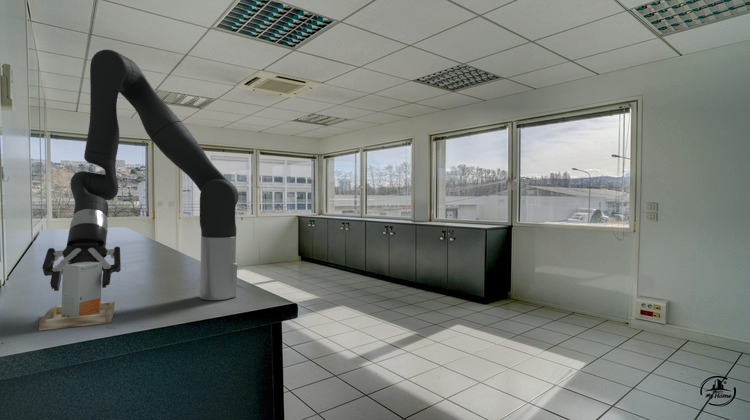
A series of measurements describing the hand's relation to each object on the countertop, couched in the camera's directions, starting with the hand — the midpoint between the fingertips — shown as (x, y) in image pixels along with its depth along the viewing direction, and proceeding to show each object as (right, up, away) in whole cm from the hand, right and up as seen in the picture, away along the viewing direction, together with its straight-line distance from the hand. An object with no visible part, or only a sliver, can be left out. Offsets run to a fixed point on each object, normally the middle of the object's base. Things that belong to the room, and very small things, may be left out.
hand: (80, 287), depth 85 cm
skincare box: (-1, -7, +1) cm, 7 cm away
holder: (-1, -7, +1) cm, 7 cm away
